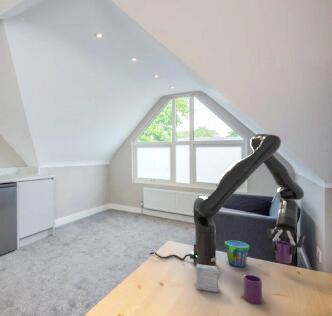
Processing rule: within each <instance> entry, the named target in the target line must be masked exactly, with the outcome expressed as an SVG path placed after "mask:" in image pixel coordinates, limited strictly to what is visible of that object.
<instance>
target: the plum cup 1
mask: <svg viewBox="0 0 332 316" xmlns="http://www.w3.org/2000/svg"><path fill="white" fill-rule="evenodd" d="M243 299H244V300H245V301H246V302H248V303H251V304H255V305H261V304H262V303H263V280H262V278H261V277H259V276H257V275H254V274H245V275H243Z"/></svg>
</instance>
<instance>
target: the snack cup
mask: <svg viewBox="0 0 332 316" xmlns="http://www.w3.org/2000/svg"><path fill="white" fill-rule="evenodd" d="M224 246H225V251H226V257H227V262H228V264H230V265H231V266H234V267H241V268H243V267H246V265H247V261H248V254H249V250H250V245H249V244H248V243H246V242H244V241H240V240H233V239H231V240H226V241H224Z"/></svg>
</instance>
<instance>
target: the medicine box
mask: <svg viewBox="0 0 332 316" xmlns="http://www.w3.org/2000/svg"><path fill="white" fill-rule="evenodd" d="M195 274H196V275H195V283H196V284H195V285H196V289H197V290H199V291H208V292H213V293H219V270H218V267H217V265H216V266H208V265H199V264H195Z"/></svg>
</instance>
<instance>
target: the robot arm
mask: <svg viewBox="0 0 332 316" xmlns="http://www.w3.org/2000/svg"><path fill="white" fill-rule="evenodd" d="M281 144H282V139H281V137H280V136H279V135H276V134H273V133H272V134H271V133H257V134H254V135H253V136H252V137H251V139H250V148H251V149H252V151H253V152H252V153H250V154H249V155H248V156H247V155H246V156H245V157H244V158H242V159H240V160H238V161H236V162H234V163H232V164H231V165H230V167H228V168H227V170H225V172H224V173H223V174H222V175H221V177H220V180H219V182H218V184H217V186H216V188H215V189H214V190H213V191H212V192H211V194H210V195H208V196H207V197H206V196H198V197H197V198H196V199H195V200H194V202H193V205H192V208H193V210H192V211H193V222H194V229H195V230H194V238H195V239H194V240H195V243H194V244H193V251H192V252H189V253H188V254H185V255H184V256H183V258H182V257H180V256H179V255H176V254H169V255H167V256H166V255H165V256H162V255H159V254H158V253H157V252H155V251H151V252H150V253H149V255H155V256H157V257H158V258H160V259H169V258H172V257H175V258H177V259H178V260H181V261H184V260H185V259H186V258H188V257H189V259H191V260H193V264H195V265H196V264H199V265H208V266H216V267H217V234H216V233H217V231H216V229H217V227H216V224H215V222H214V219H213V217H215V216H216V215H217V214H218V213H219V211H221V209H222V208H223V207H224V205H225V203H226V202H227V201H228V200H229V199H230V198H231V197H232V195H233V194H235V192H236V191H237V190H239V188H240V187H241V186H242V185H243V184H244V183H245V182H247V180H248V179H249V178H250V177H251V176H252V175H253V173H255V171H256V170H258V169H259V168H260V167H261V166H262V165H263V164H264V165H265V167H266V169H267V170H268V171H269V173H270V175H271V177H272V180H273V181H274V182H275V184H276V185H277V186H278V189H277V191H276V192H277V196H278V201H279V207H278V212H277V216H276V223H275V227H274V229H273V228H270V227H267V228H266V230H267V240H268V242H269V243H271V249H272V250H273V252H276V243H275V242H276V241H284V240H285V241H288V242H289V243H291V251H290V253H291V256H293V255H295V254H296V249H297V248H299V249H300V248H302V247H303V243H304V242H305V241H304V240H305V234H304V233H298V232H297V227H298V209H299V205H298V203H297V202H296V201H300V200H302V199H304V197H305V191H304V189H303V188H302V186H300V184H299V183H297V181H295V180H294V179H293V177H292V175H291V174H290V172H289V169H288V168H287V167H286V166H285V164H283V163H282V162H281V161H280V160H279V159H278V158H277V157H276V156H275V155H274V154H275V153H276V152H277V151H278V150H279V149H280V147H281ZM274 233H275V235H274V237H273V238H272V235H273V234H274ZM296 237H297V239H298V240H297V242H295V240H294V238H296ZM154 253H155V254H154Z"/></svg>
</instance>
